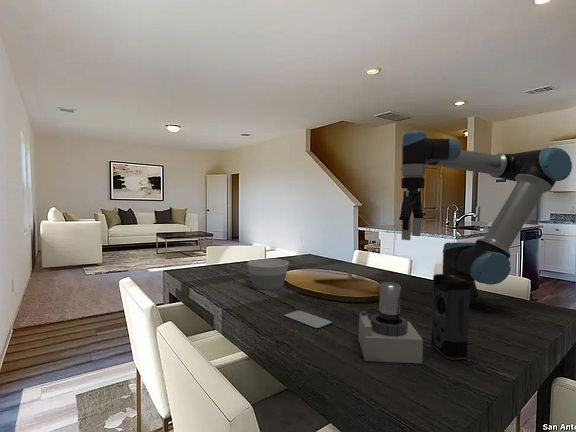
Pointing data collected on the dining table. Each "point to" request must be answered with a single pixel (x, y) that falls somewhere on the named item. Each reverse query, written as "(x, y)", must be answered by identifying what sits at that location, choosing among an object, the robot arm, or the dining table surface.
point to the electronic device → (450, 316)
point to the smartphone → (308, 319)
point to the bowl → (268, 273)
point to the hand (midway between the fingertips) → (411, 237)
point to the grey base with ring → (389, 341)
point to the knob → (389, 303)
